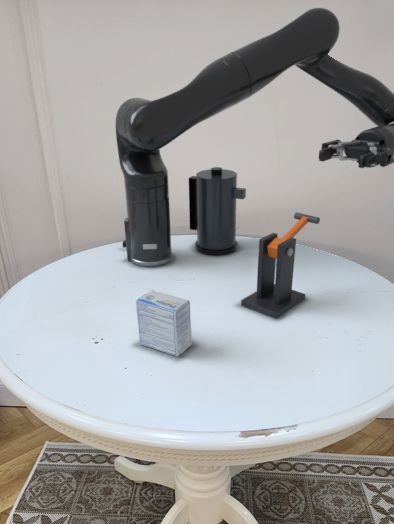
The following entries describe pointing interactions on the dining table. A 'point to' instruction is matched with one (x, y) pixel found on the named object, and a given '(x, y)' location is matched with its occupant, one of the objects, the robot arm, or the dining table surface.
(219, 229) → the kettle
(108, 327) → the dining table surface
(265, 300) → the base
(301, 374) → the dining table surface
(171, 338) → the medicine box
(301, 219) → the switch lever
